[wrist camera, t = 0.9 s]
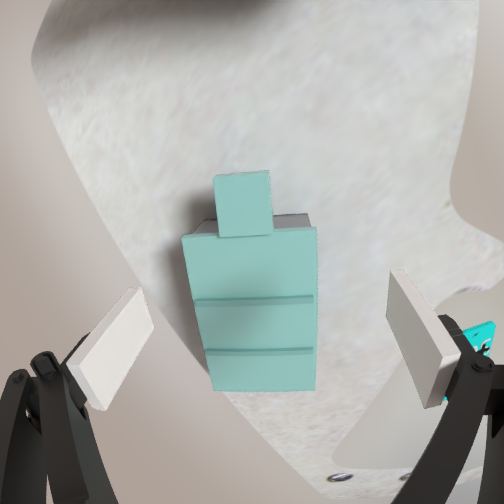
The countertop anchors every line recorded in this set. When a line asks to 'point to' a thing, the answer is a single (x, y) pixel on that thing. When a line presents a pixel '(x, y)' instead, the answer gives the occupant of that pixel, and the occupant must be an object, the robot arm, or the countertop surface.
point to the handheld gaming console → (480, 338)
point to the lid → (254, 291)
